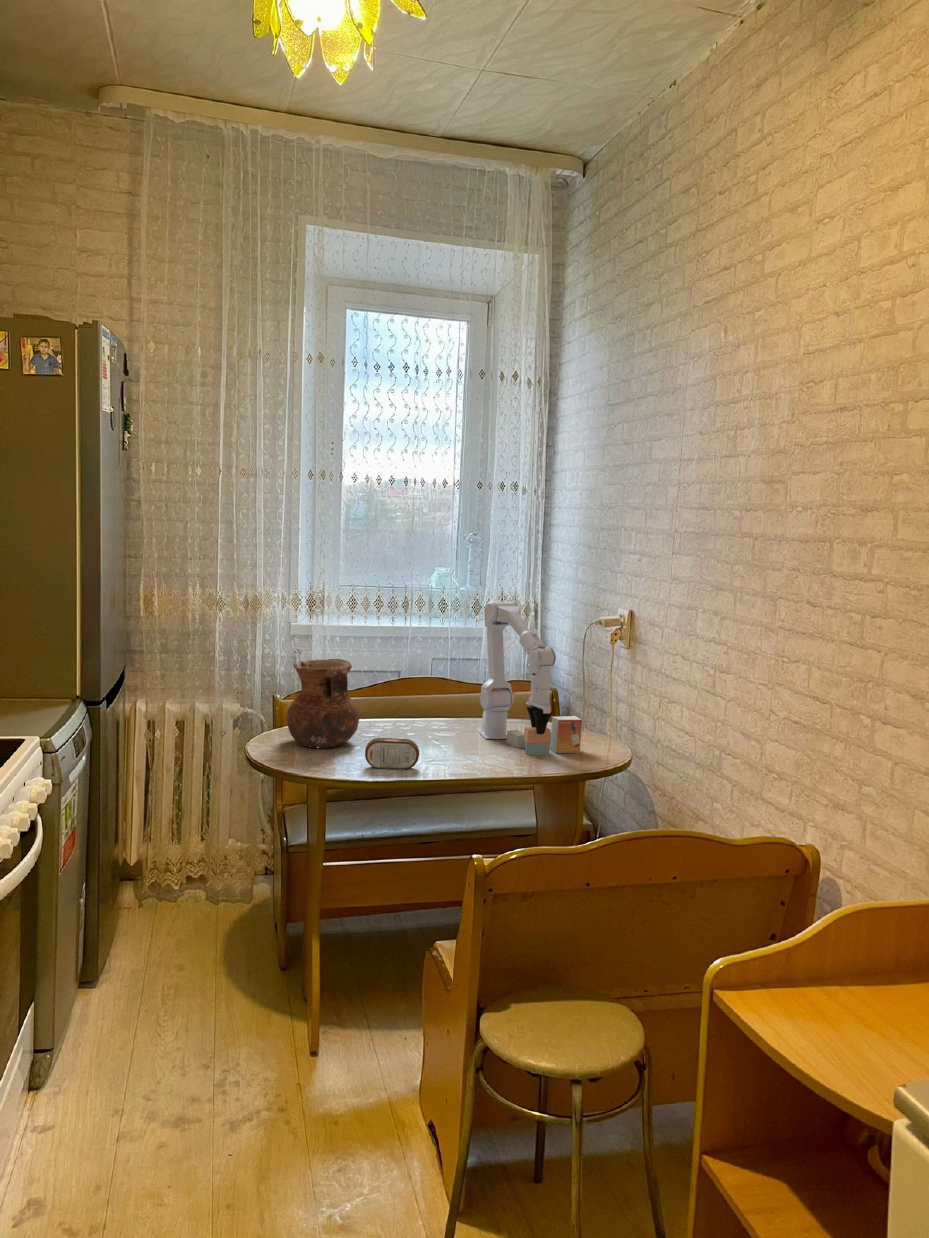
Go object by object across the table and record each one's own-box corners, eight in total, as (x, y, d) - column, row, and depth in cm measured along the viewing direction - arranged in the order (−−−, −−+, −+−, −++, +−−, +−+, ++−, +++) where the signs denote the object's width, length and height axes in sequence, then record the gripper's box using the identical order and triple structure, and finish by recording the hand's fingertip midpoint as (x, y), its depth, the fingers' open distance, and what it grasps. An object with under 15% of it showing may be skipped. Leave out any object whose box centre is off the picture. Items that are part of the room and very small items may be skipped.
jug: (271, 744, 275) (272, 662, 272) (313, 731, 293) (315, 654, 290) (331, 756, 264) (333, 670, 262) (371, 742, 283) (374, 662, 280)
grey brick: (517, 748, 284) (517, 735, 283) (506, 743, 290) (507, 730, 290) (527, 747, 285) (527, 734, 285) (516, 742, 292) (516, 729, 291)
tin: (418, 767, 256) (419, 738, 255) (418, 770, 253) (419, 741, 252) (364, 766, 256) (365, 736, 255) (363, 769, 252) (364, 739, 252)
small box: (556, 753, 278) (557, 719, 277) (549, 749, 284) (551, 715, 283) (580, 753, 281) (582, 719, 279) (573, 748, 286) (575, 715, 285)
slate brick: (524, 752, 279) (525, 739, 279) (547, 753, 280) (548, 740, 279) (526, 755, 276) (526, 742, 275) (549, 756, 276) (549, 743, 276)
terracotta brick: (524, 740, 278) (524, 727, 278) (545, 739, 280) (546, 726, 279) (527, 742, 275) (528, 729, 274) (549, 742, 276) (550, 729, 276)
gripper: (520, 683, 282) (518, 726, 283) (535, 692, 268) (533, 737, 269) (542, 683, 283) (539, 726, 285) (558, 692, 269) (555, 737, 271)
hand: (538, 732), depth 277 cm, fingers open, 4 cm apart
